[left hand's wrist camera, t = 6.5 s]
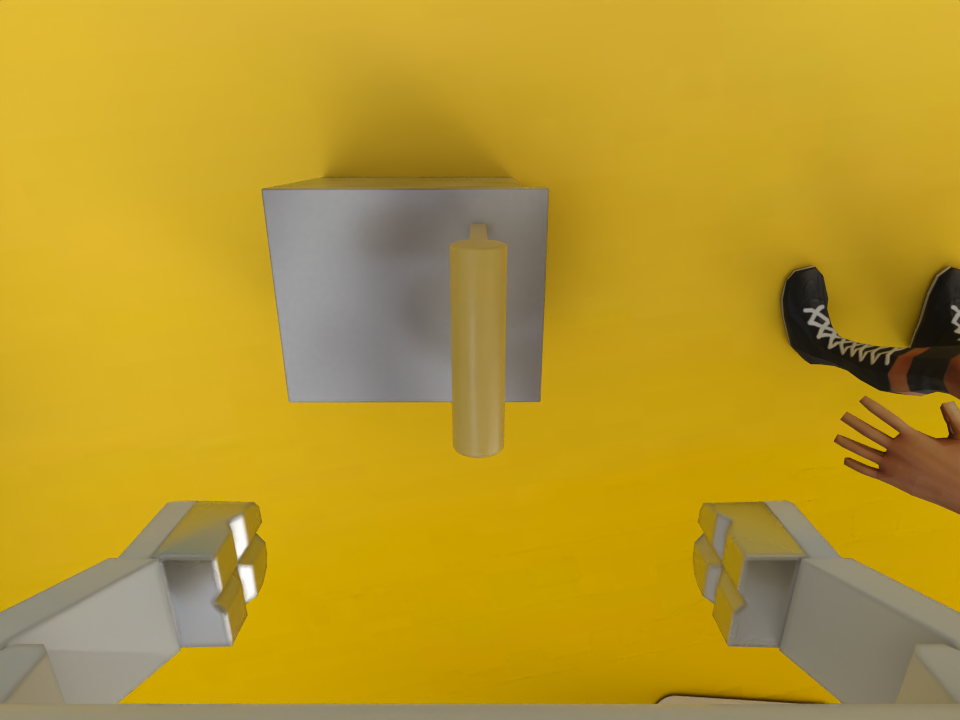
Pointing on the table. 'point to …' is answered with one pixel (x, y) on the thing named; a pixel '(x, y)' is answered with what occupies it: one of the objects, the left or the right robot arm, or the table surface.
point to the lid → (412, 298)
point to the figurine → (891, 382)
